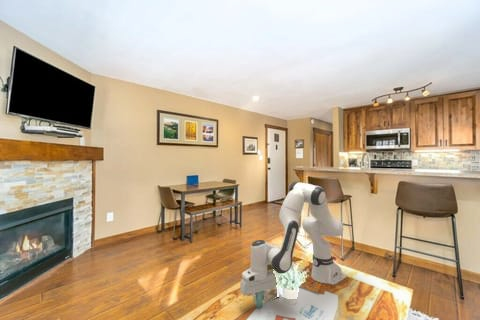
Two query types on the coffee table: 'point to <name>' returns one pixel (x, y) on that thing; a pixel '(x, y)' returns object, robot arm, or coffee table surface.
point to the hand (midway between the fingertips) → (258, 299)
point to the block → (270, 294)
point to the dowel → (259, 299)
